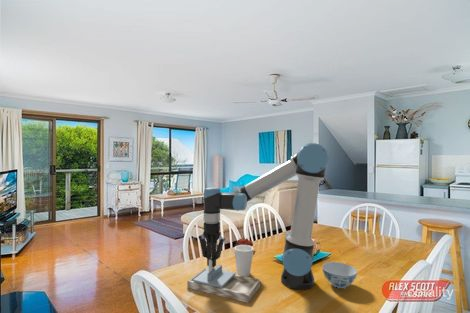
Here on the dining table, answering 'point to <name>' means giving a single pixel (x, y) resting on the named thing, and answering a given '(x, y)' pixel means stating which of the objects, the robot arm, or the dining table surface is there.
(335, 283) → the chinaware
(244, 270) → the foam cup
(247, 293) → the grey flat rectangular tray
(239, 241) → the dragon fruit
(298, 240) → the robot arm
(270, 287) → the dining table surface
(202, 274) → the lid
